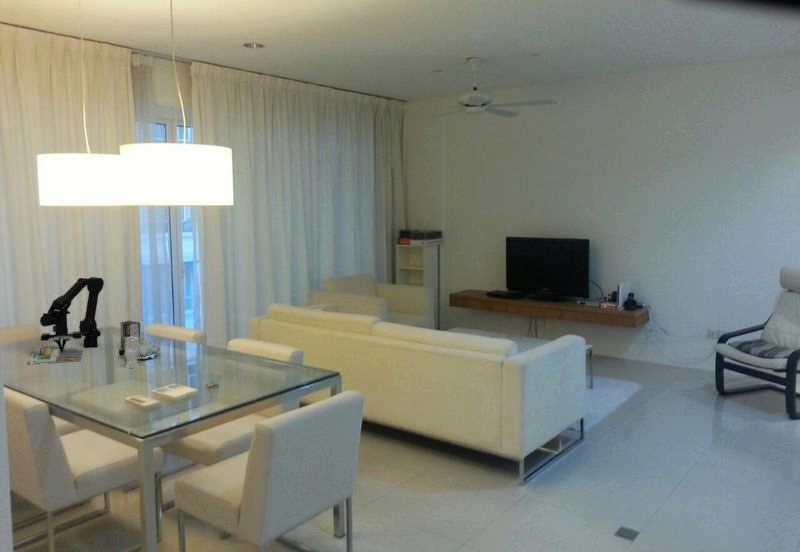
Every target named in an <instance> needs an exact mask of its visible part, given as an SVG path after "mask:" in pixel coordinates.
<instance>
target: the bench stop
mask: <svg viewBox="0 0 800 552" xmlns="http://www.w3.org/2000/svg"><path fill="white" fill-rule="evenodd" d="M41 348H42V346H36V347H35V346H34V349H33V351H32V353H33V358H35V357H36V356H38V355H41Z"/></svg>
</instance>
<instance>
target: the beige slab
mask: <svg viewBox="0 0 800 552" xmlns="http://www.w3.org/2000/svg"><path fill="white" fill-rule="evenodd" d="M49 347H50V346H49ZM60 351H61V350H60V348H59V346H53V347H50V355H55V354H57V356H59V355H60Z"/></svg>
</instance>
